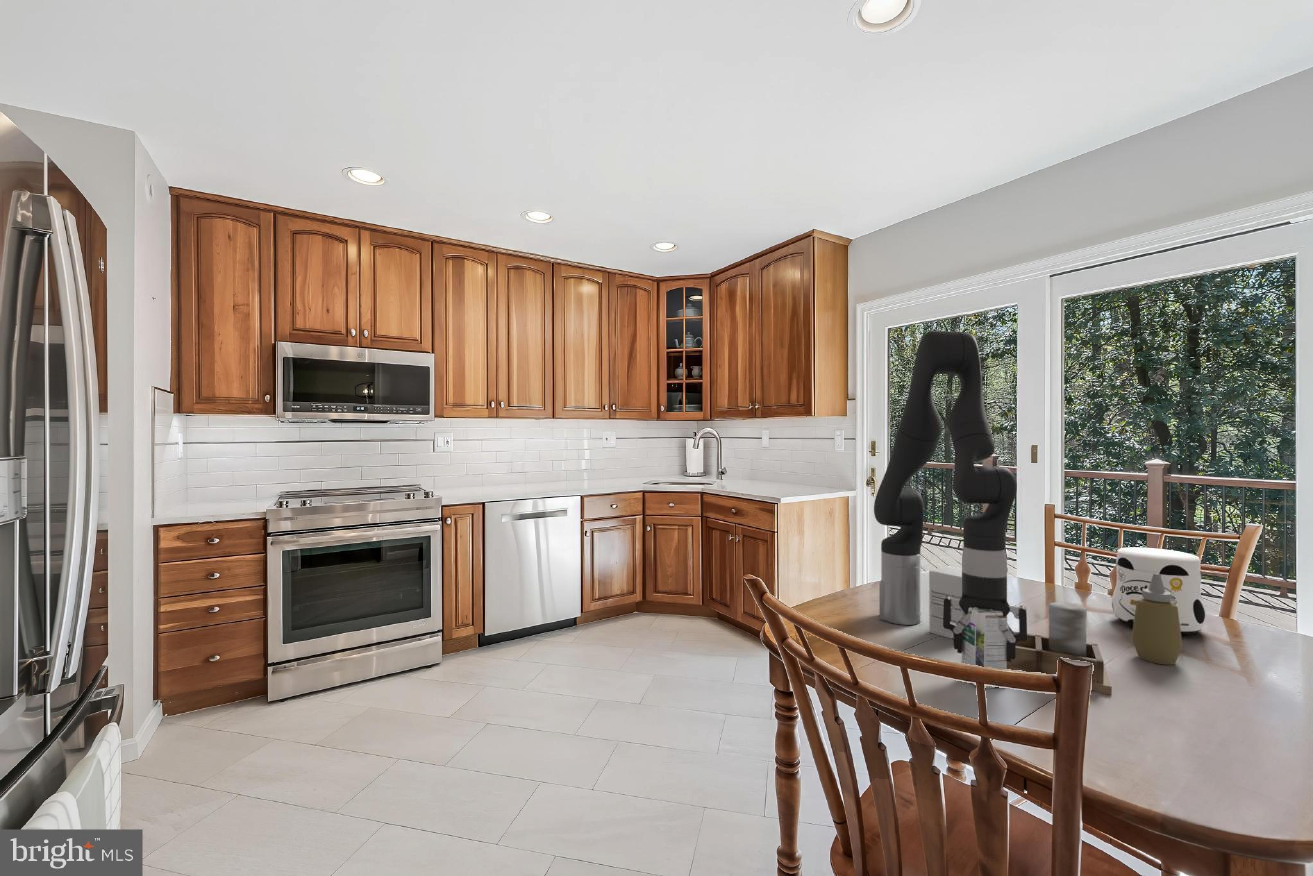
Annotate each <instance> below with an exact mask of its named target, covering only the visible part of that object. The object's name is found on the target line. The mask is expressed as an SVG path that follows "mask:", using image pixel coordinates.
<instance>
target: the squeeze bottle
mask: <svg viewBox="0 0 1313 876" xmlns="http://www.w3.org/2000/svg"><path fill="white" fill-rule="evenodd" d="M1142 597H1143V598H1142V599H1140V600H1138V601H1137V602H1136V610H1135V617H1134V624H1133V626H1132V633H1131V640H1132V642H1133V645H1134V649H1135V651H1136V654H1137V656H1138V657H1139V658H1140V659H1142V660H1144V661H1146V662H1149V663H1155V664H1160V665H1174V664H1176V662H1177V660H1178V659H1179V658H1178V657H1179V656H1180V653H1181V651H1182V650H1183V647H1184V646H1183V640H1182V634H1181V630H1180V622H1179V614H1178V607H1177V606H1176V605H1175V604H1173V603H1171V601H1172V594H1171V593H1170V592H1167V591H1165V589H1164V585H1163V581H1162V578H1161V574H1156V573H1154V574H1153V576H1152V580H1151V583H1150V586H1149V589H1143V590H1142Z"/></svg>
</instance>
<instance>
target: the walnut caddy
mask: <svg viewBox="0 0 1313 876" xmlns="http://www.w3.org/2000/svg"><path fill="white" fill-rule="evenodd" d="M1012 631H1013V630H1012ZM1013 632H1014V633H1017V632H1018V631H1013ZM1060 657H1063V658H1069V659H1071V660H1080V661H1087V662H1090V663H1093V665H1094V671H1093V674H1092V691H1091V692H1093V693H1094V692H1095V693H1100V694H1105V695H1110V696H1112V693H1113V691H1112V688H1113V687H1112V684H1111V681H1110V678H1109V675H1108V672H1107V669H1106V666H1105V662H1104V659H1103V656H1102V653H1101V650H1100V647H1099V645H1098V644H1097V643H1091V642H1087V608H1085V607H1084V606H1081V605H1078V604H1074V603H1068V602H1050V603H1048V636H1045V635H1040V634H1034V633H1027V640H1026V641H1018V642H1016V656H1015V659H1014V660H1013V659H1011V662H1007V669H1011V670H1022V671H1026V672H1041V673H1046V674H1056V672H1057V660H1058V658H1060Z"/></svg>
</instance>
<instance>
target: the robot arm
mask: <svg viewBox="0 0 1313 876" xmlns="http://www.w3.org/2000/svg"><path fill="white" fill-rule="evenodd" d="M915 354H916V355H915V359H914V364H913V370H912V376H911V381H910V385H909V389H908V394H907V398H906V402H905V405H904V409H903V412H902V415H901V419H900V422H899V425H898V429H897V431H896V435H895V438H894V442H893V443H894V444H893V447H892V452H891V454H890V458H889V460H888V465H887V467H886V470H885V473H884V476H883V478H882V480H881V482H880V485H879V488H878V490H877V492H876V495H875V497H874V498H875V499H874V505H873V513H874V517H875V520H876V522H877V523H878V524H880V525H882V526H887V527H888V526H889V527H890V526H891V527H892V526H894V527H895V526H896V527H897V526H898V527H900V528H899V529H898V530H897V532H895V533H894V534H892V535H890V536H887V537H885V538H883V539H882V540H881V546H880V549H881V552H880V556H881V558H880V560H881V561H880V563H881V564H880V565H881V572H880V573H881V576H880V579H881V580H880V581H879V584H878V585H879V586H878V587H879V588H878V589H879V592H878V593H879V595H878V597H879V598H878V599H879V603H878V605H879V607H878V608H879V609H878V610H879V612H878V613H879V617H878V618H879V620H882V621H886V622H887V623H892V624H896V625H903V626H904V625H905V626H908V625H909V626H911V625H918V624H920V623H921V615H922V613H921V612H922V611H921V589H922V588H921V584H922V583H921V567H922V566H921V547H922V545H923V540H924V520H925V519H924V518H925V506H924V505H925V504H924V499H923V496H922V495H921V493H920V492H919V491H918V490H916V489H913V488H905V486H906V484H907V482H908V481H909V480H910V479H911V478H912V477H913V476H914V475H915V474H916V473H918V471H920V470H921V469H922V468H923V467H924V466H925V465H926V464H927V463H928V462H930V460H931V459H932V457H934V456H935V453H936V450H937V448H938V446H939V442H940V439H941V435H942V432H943V423H942V419H941V416H940V413H939V411H938V409H937V406H936V404H935V402H934V400H933V393H932V389H933V388H932V387H933V382H934V377H935V376H936V375H952V376H953V375H954V376H955V375H957V378H958V380H959V383H960V390H959V394H958V396H957V398H956V400H955V402H954V404H953V406H952V409H950V410H951V411H950V413H949V417H948V429H949V434H950V438H951V441H952V446H953V450H954V471H953V478H952V479H953V480H952V488H953V489H952V490H953V493H954V495H955V496H956V498H957V499H958V500H959V501H960V502H962V503H964V504H968V505H969V504H971V505H973V504H976V505H977V504H979V505H981V504H982V505H983V504H984V505H985V504H988V505H987V506H986V509H985V510H984V511H983V512H981V513H979V514H974V515H970V516H967V517H966V518H965V519H964V520H963V527H962V528H963V540H962V541H963V547H962V549H963V550H962V555H961V568H962V597H961V598H960V599H955V598H951V597H950V596H946V597H945V599H944V609H943V627H944V628H945V629H949V630H951V631H952V632H953V639H952V640H953V643H952V644H953V649H954V650H957V651H956V652H957V654H962V632H961V631H962V630H963V629H964V628H965V627H966V626H967V625H968V624H969V623H970V618H971V614H972V610H973V609H979V608H983V609H988V610H989V611H1001V612H1002V613H1003V616H1004V617H1005V616H1006V615H1007V616H1008V615H1009V613H1012V615H1013V617H1014V618H1015V619H1016V620H1018V626H1019V627H1018V628H1019V629H1018V630H1019V631H1016V632H1017V633H1014V632H1015V631H1014V632H1013V629H1012V627H1010V624H1009V623H1008V622H1007V626H1006V625H1005V624H1004V622H1003V621H1002V620H1001V619H1000V618H999V616H998V615H997V614H996V613H995V612H994V613H995V614H996V617H998V621H999V622H998V628H999V629H1000V630H1001V632H1002V633H1003V634H1004V635H1005V636H1006V638H1007V662H1011V659H1013V660H1014V659H1015V656H1016V642H1018V641H1026V640H1027V634H1028V619H1027V617H1028V616H1027V607H1026V606H1025V605H1019V606H1016V605H1010V604H1009V603H1008V559H1007V552H1006V538H1007V537H1006V530H1007V525H1008V520H1009V517H1010V515H1011V510H1012V507H1013V505H1014V501H1015V498H1016V494H1017V491H1018V490H1017V489H1018V485H1017V484H1018V483H1017V479H1016V477H1015V474H1014V473H1013V472H1012V471H1011V470H1010V469H1009V468H1007V467H1004V466H975V465H974V464H975V463H977V462H981V461H985V460H987V459H989V458H991V457H992V456H993V455H994V453H995V449H996V448H995V443H994V438H993V436H992V432H991V428H990V425H989V420H988V418H987V414H986V409H985V403H984V391H983V390H984V389H983V378H982V377H983V376H982V368H981V366H982V365H981V357H980V356H981V355H980V349H979V346H978V342H977V340H976V337H974V335H972V334H971V333H969V332H964V331H947V330H945V331H944V330H943V331H942V330H930V331H927V332H925V334H923V336H922V337H921V338H920V341H919V344H918V346H917V349H916V353H915ZM956 605H959V606H960V607H961V608H962V610H963V611H964V613H965V614H966V616H965V617H964V618H961V619H960V620H959V621H958V622H957V623H956V624H955V623H953V622H951V610H954V609H955V607H956ZM970 607H971V608H972V610H971V611H970V612H969V608H970ZM969 616H970V617H969ZM1001 625H1002V626H1001Z"/></svg>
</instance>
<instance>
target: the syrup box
mask: <svg viewBox="0 0 1313 876" xmlns="http://www.w3.org/2000/svg"><path fill="white" fill-rule="evenodd" d="M971 610H972V608H971V607H970V608H969V612H970V611H971ZM994 612H995V613H996V614H997V615H998V616H999V618H1000V619H1001V620H1002V621H1003V622H1004V624H1005V625H1006V626H1007V623H1008V615H1006V616H1005V617H1004V616H1003V613H1002V612H1001V611H989V610H988V609H983V608H979V609H973V610H972V614H971V618H970V623H969V624H968V625H967V626H966V627H965V628H964V629H963V630H962V653H961V664H962V663H965V664H970V665H978V666H982V667H991V668H996V669H1007V638H1006V636H1005V635H1004V634H1003V633H1002V632H1001V630H1000V629H999V628H998V622H999V621H998V617H996V614H995V613H994ZM965 616H966V614H965V613H964V611H963V610H962V618H964V617H965ZM969 617H970V616H969ZM1001 626H1002V625H1001ZM972 685H973V686H975V687H976V685H974V684H972ZM986 689H996V688H995V687H992V686H986Z"/></svg>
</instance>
